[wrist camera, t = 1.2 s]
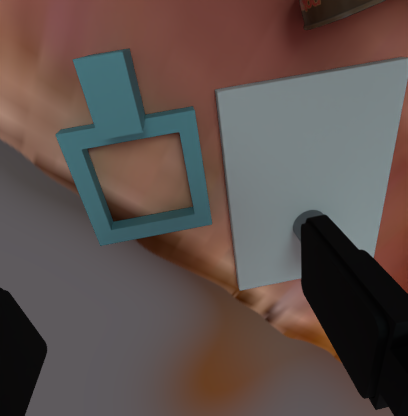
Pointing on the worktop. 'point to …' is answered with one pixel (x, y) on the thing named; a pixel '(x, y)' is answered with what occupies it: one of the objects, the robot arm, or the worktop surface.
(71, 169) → the link
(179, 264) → the worktop surface
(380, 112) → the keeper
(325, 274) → the robot arm
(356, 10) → the tin
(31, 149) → the worktop surface
